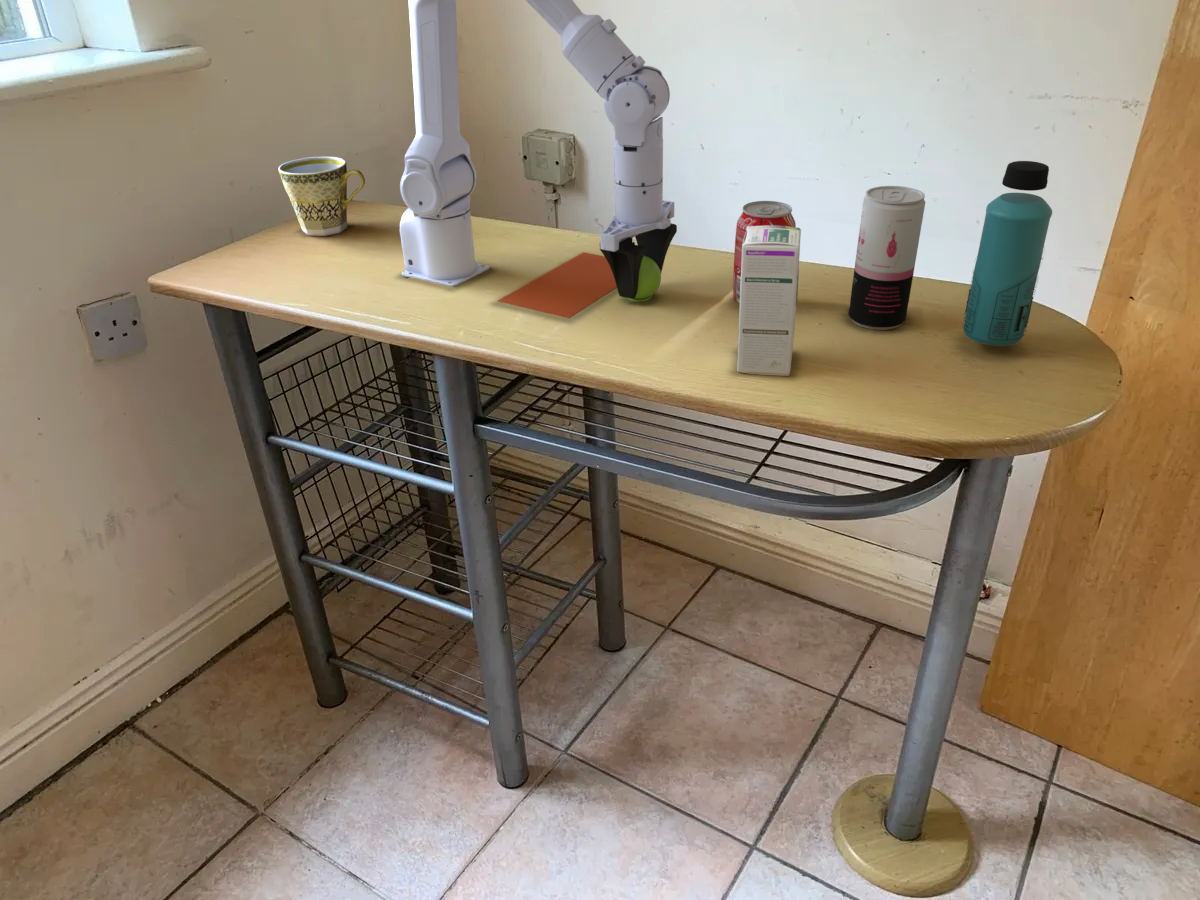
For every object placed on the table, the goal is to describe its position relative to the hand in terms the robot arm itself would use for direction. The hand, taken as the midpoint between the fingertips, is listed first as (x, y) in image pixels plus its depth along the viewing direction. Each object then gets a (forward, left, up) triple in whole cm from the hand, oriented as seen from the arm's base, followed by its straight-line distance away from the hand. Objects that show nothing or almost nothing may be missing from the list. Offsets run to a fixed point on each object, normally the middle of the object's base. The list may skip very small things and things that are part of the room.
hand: (639, 288), depth 113 cm
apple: (0, 0, -1) cm, 1 cm away
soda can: (+14, +6, -2) cm, 15 cm away
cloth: (-10, 0, -1) cm, 10 cm away
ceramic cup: (-56, +1, -2) cm, 56 cm away
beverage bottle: (+41, +7, -2) cm, 42 cm away
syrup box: (+21, -9, -2) cm, 23 cm away
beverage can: (+28, +8, -2) cm, 29 cm away
